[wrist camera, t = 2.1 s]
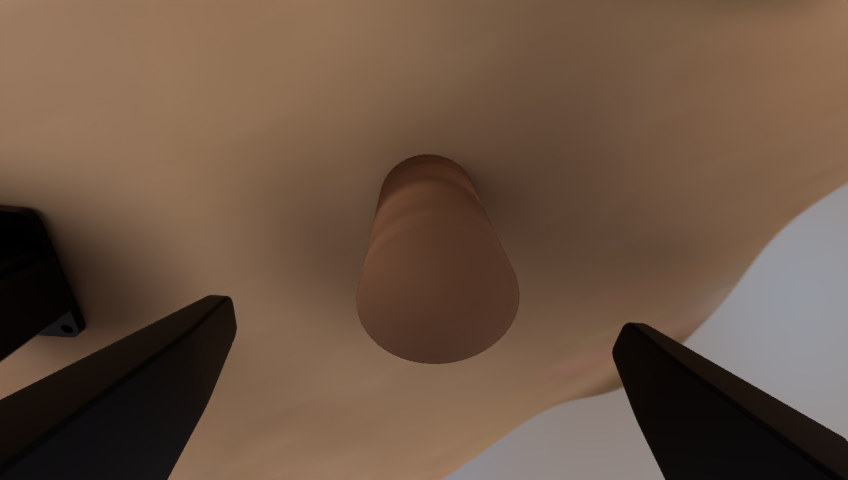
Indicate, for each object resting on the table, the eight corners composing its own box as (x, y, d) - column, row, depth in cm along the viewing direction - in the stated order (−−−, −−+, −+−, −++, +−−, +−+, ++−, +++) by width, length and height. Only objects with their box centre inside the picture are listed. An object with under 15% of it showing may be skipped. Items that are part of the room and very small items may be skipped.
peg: (377, 239, 16) (354, 359, 9) (382, 149, 14) (358, 224, 8) (466, 247, 16) (500, 367, 10) (482, 159, 14) (537, 239, 8)
